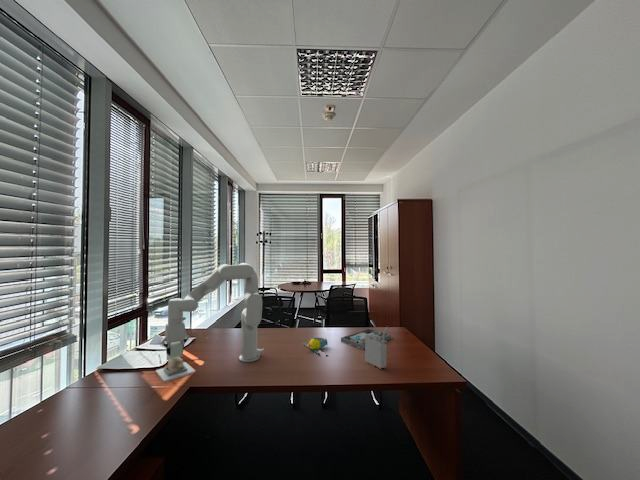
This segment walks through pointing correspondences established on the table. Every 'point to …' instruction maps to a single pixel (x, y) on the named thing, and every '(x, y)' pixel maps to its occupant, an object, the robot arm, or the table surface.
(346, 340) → the desk tray
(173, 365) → the maple block
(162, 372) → the baseplate
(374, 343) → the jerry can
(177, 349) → the sage block
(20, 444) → the table surface
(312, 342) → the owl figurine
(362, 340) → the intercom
